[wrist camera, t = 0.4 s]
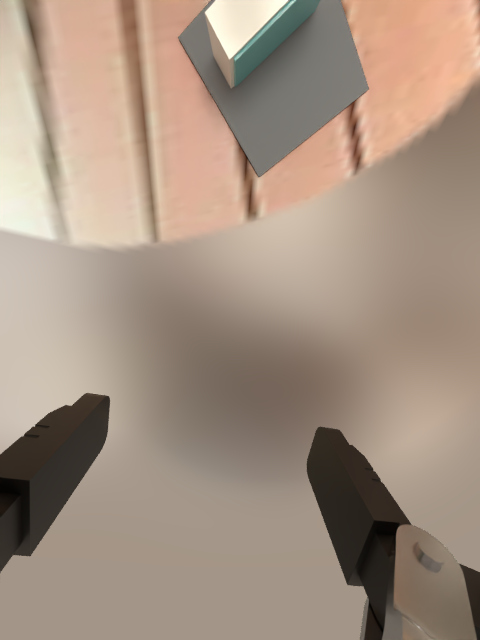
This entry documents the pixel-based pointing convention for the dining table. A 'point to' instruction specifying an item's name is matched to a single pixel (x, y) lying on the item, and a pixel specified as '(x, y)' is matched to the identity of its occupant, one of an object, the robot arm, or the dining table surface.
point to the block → (251, 31)
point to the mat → (284, 84)
